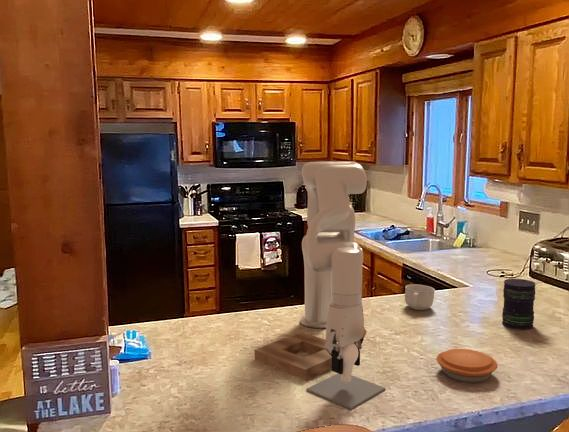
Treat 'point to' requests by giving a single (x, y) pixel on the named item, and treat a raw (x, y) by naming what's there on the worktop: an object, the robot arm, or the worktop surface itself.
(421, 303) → the teacup
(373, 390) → the mat
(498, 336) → the worktop surface
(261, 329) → the worktop surface
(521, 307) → the storage jar
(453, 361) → the pie
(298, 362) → the holder
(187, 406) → the worktop surface
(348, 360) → the lightbulb
